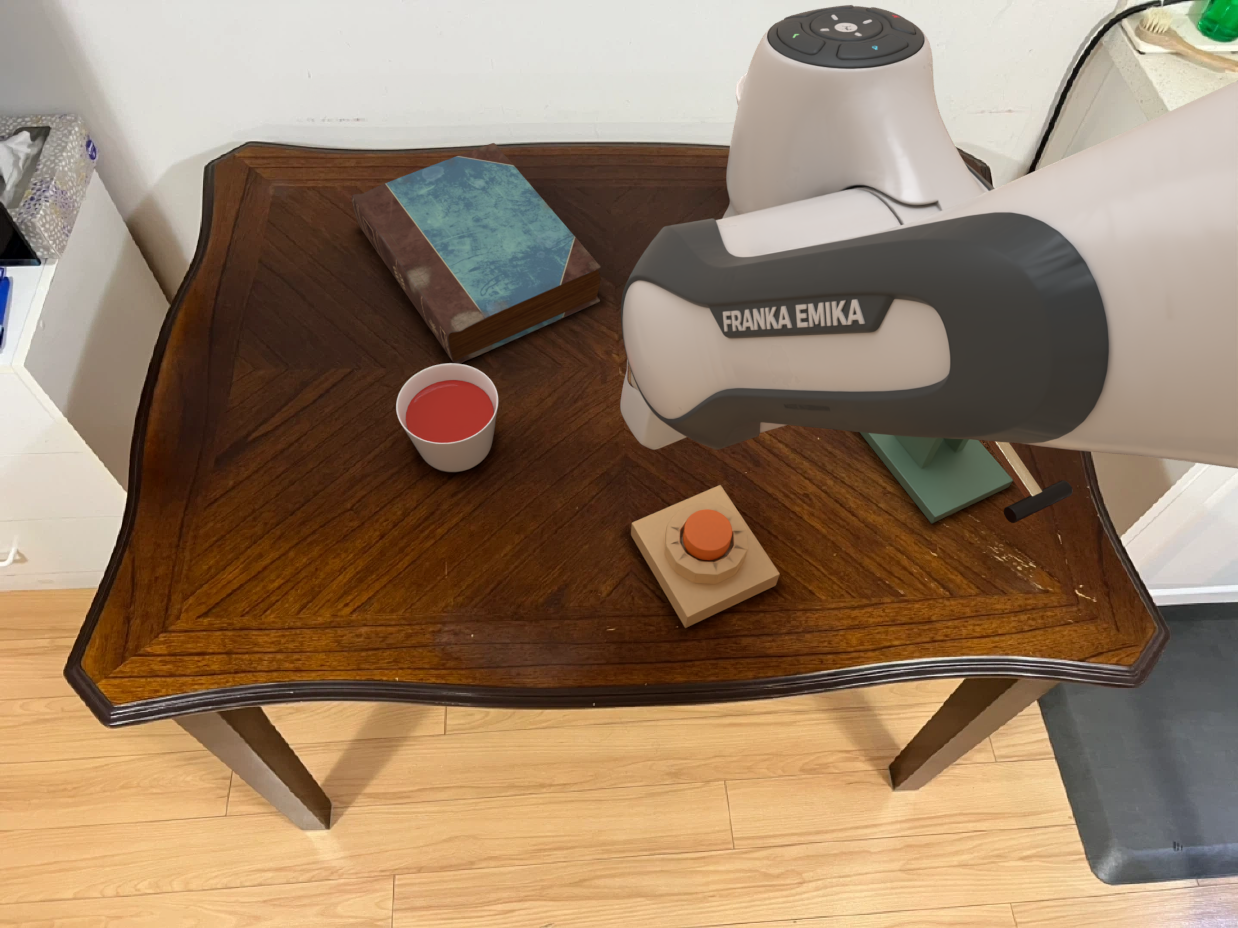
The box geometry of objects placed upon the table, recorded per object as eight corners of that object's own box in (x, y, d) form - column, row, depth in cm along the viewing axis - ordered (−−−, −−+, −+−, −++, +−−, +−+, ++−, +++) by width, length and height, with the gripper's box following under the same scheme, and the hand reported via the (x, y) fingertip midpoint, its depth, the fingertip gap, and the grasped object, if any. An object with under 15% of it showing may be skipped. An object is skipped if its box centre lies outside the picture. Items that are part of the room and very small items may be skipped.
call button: (776, 585, 82) (783, 563, 79) (685, 628, 80) (689, 607, 76) (717, 497, 87) (722, 473, 84) (630, 535, 85) (632, 512, 81)
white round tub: (462, 390, 93) (455, 347, 88) (523, 444, 90) (519, 403, 84) (388, 441, 90) (375, 400, 84) (448, 500, 86) (438, 461, 81)
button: (738, 549, 80) (741, 539, 78) (697, 568, 79) (699, 558, 77) (714, 512, 82) (717, 502, 80) (674, 530, 81) (675, 520, 79)
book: (359, 231, 105) (349, 195, 101) (499, 177, 111) (495, 141, 107) (452, 367, 95) (446, 334, 91) (602, 300, 100) (603, 266, 96)
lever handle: (1063, 500, 80) (1078, 489, 78) (1007, 527, 79) (1022, 517, 76) (970, 365, 85) (982, 351, 82) (915, 388, 83) (927, 375, 81)
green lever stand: (1008, 487, 88) (1061, 410, 79) (931, 524, 86) (975, 450, 76) (917, 381, 95) (955, 298, 85) (843, 412, 93) (873, 331, 83)
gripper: (656, 382, 51) (645, 515, 62) (958, 264, 56) (897, 406, 68) (603, 304, 54) (602, 445, 65) (895, 200, 60) (847, 347, 71)
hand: (754, 425), depth 67 cm, fingers closed
